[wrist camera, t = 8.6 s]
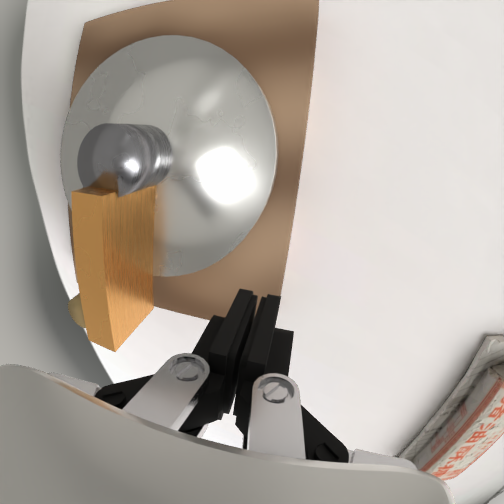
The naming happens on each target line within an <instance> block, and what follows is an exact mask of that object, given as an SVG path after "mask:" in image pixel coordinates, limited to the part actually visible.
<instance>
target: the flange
mask: <svg viewBox="0 0 504 504" xmlns="http://www.w3.org/2000/svg"><path fill="white" fill-rule="evenodd" d="M278 156H279V150H278V134H277V129H276V123H275V119H274V116H273V113H272V110H271V107H270V104H269V102H268V100H267V98H266V96H265V94H264V92H263V90H262V89H261V87H260V86H259V84H258V83H257V82H256V80H255V79H254V77H253V76H252V75H251V74H250V73H249V71H248V70H247V69H246V68H245V67H244V66H243V65H242V64H241V63H240V62H239V61H238V60H237V59H236V58H234V57H233V56H232V55H230V54H229V53H228V52H226V51H225V50H223V49H222V48H220V47H218V46H216V45H214V44H212V43H210V42H207V41H204V40H201V39H197V38H194V37H188V36H180V35H163V36H157V37H151V38H147V39H144V40H141V41H138V42H135V43H133V44H131V45H128V46H126V47H124V48H122V49H121V50H119V51H118V52H116V53H114V54H113V55H111V56H110V57H109V58H108V59H106V60H105V61H104V62H103V63H102V64H100V65H99V66H98V67H97V68H96V69H95V71H94V72H93V73H92V74H91V75H90V76H89V77H88V79H87V80H86V81H85V83H84V84H83V86H82V87H81V89H80V90H79V92H78V94H77V95H76V97H75V99H74V101H73V103H72V106H71V108H70V110H69V113H68V116H67V119H66V122H65V126H64V131H63V135H62V142H61V174H62V181H63V186H64V191H65V194H66V197H67V200H68V203H69V206H70V208H71V210H72V226H73V241H74V252H75V262H76V270H77V278H78V285H79V292H80V298H81V304H82V310H83V315H84V320H85V325H86V330H87V334H88V339H89V340H90V341H92V342H94V343H96V344H98V345H100V346H103V347H105V348H107V349H109V350H112V351H114V352H116V351H117V349H118V348H119V347H120V346H121V345H122V344H123V343H124V341H125V340H126V339H127V338H128V337H129V336H130V334H131V333H132V332H133V331H134V330H135V329H136V328H137V327H138V325H139V324H140V323H141V322H142V321H143V320H144V319H145V318H146V316H147V315H148V314H149V313H150V312H151V311H152V310H153V309H154V305H153V276H164V277H168V276H181V275H185V274H190V273H194V272H197V271H199V270H202V269H205V268H207V267H209V266H211V265H212V264H214V263H216V262H218V261H220V260H221V259H222V258H224V257H225V256H226V255H228V254H229V253H230V252H232V251H233V250H234V249H235V248H236V247H237V246H238V245H239V244H240V243H241V242H242V241H243V240H244V238H245V237H246V236H247V234H248V233H249V232H250V230H251V229H252V228H253V226H254V225H255V223H256V222H257V221H258V219H259V217H260V216H261V214H262V212H263V210H264V208H265V207H266V205H267V202H268V200H269V197H270V195H271V192H272V190H273V186H274V182H275V178H276V174H277V166H278Z"/></svg>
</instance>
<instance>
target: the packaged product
mask: <svg viewBox="0 0 504 504" xmlns="http://www.w3.org/2000/svg"><path fill="white" fill-rule="evenodd" d="M503 433H504V336H502V335H495V336H487V337H486V338H485V340H484V342H483V344H482V345H481V347H480V349H479V350H478V352H477V354H476V355H475V357H474V359H473V361H472V363H471V365H470V367H469V369H468V371H467V372H466V374H465V376H464V377H463V378H462V379H461V380H460V382H459V383H458V385H457V386H456V388H455V389H454V390H453V392H452V393H451V394H450V396H449V397H448V398H447V400H446V401H445V402H444V404H443V405H442V406H441V408H440V409H439V410H438V411H437V413H436V414H435V415H434V416H433V417H432V418H431V419H430V421H429V422H428V423H427V425H426V426H425V427H424V428H423V430H422V431H421V432H420V434H419V435H418V436H417V437H416V438H415V439H414V441H413V442H412V443H411V444H410V445H409V446H408V447H407V448H406V449H405V450H404V451H403V452H402V453H401V454H400V456H399V457H398V458H403V459H406V460H409V461H411V462H412V463H413V464H415V466H416V468H417V470H420V471H423V472H426V473H430V474H432V475H434V476H436V477H438V478H440V479H442V480H443V481H444V480H448V479H452V478H454V477H456V476H458V475H459V474H460V473H462V472H463V471H464V470H465V469H466V468H468V467H469V466H470V465H471V464H472V463H473V462H475V461H476V460H477V459H478V458H479V457H480V456H481V455H483V454H484V453H485V452H486V451H487V450H488V449H489V448H490V447H491V446H492V445H493V444H494V443H495V442H496V441H497V440H498V439H499V438H500V437H501V436H502V435H503Z"/></svg>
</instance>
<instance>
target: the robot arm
mask: <svg viewBox="0 0 504 504" xmlns="http://www.w3.org/2000/svg"><path fill="white" fill-rule="evenodd" d="M257 299H258V296H257V295H253V291H251V290H246V289H241V288H240V289H239V291H238V293H237V295H236V297H235V299H234V301H233V303H232V305H231V307H230V309H229V311H228V313H227V315H226V317H221V316H217V315H213V317H212V318H211V320H210V322H209V323H208V325H207V327H206V329H205V330H204V332H203V334H202V336H201V338H200V339H199V341H198V343H197V345H196V347H195V348H194V350H193V352H192V354H188V353H183V354H178V355H175V356H173V357H171V358H170V359H169V360H167V362H166V363H165V364H164V365H163V366H162V367H161V368H160V369H159V370H158V371H157V372H156V373H155V374H154V375H150V376H146V377H142V378H137V379H133V380H129V381H125V382H120V383H116V384H111V385H108V386H105V387H103V388H100V387H99V386H98V384H95V383H91V382H87V381H83V380H79V379H75V378H72V377H68V376H65V375H62V374H58V373H45V372H43V371H40V370H37V369H34V368H30V367H26V366H21V365H15V364H6V365H1V366H0V504H456V503H455V500H454V497H453V494H452V492H451V490H450V488H449V486H448V485H447V484H446V483H445V482H444V481H443V480H442V479H440V478H438V477H436V476H434V475H432V474H430V473H426V472H423V471H420V470H417V468H416V466H415V464H413V463H412V462H411V461H409V460H406V459H403V458H397V457H391V456H386V455H381V454H377V453H372V452H368V451H363V450H359V449H355V451H351V450H347V448H346V447H345V446H344V444H343V443H342V442H341V441H339V440H338V439H337V438H336V437H335V436H334V435H333V434H332V433H331V432H329V431H328V430H327V429H326V428H325V427H324V426H323V425H322V424H321V423H320V422H319V421H318V420H317V419H316V418H314V417H313V416H312V415H311V414H310V413H309V412H308V411H307V410H306V409H305V408H304V407H303V406H302V405H301V401H300V392H299V388H298V385H297V384H296V383H295V381H293V380H292V379H291V378H289V377H288V372H289V365H290V358H291V350H292V342H293V334H294V331H289V330H284V329H278V328H275V325H276V320H277V315H278V310H279V305H280V299H281V296H276V295H271V294H268V295H267V297H263V296H262V297H261V300H260V303H259V306H258V309H257V312H256V305H257ZM255 312H256V315H255ZM235 394H236V397H235ZM234 397H235V404H234V412H233V415H235V416H237V417H236V423H235V425H236V426H237V427H238V428H239V430H240V431H241V432H242V434H243V438H242V449H241V448H237V447H232V446H228V445H224V444H220V443H216V442H213V441H209V440H205V439H202V438H201V437H202V436H203V434H204V433H205V431H206V429H207V427H208V423H211V422H214V421H216V420H221V419H222V416H223V413H227V414H229V412H230V409H231V406H232V403H233V400H234Z"/></svg>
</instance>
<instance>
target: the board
mask: <svg viewBox="0 0 504 504" xmlns="http://www.w3.org/2000/svg"><path fill="white" fill-rule="evenodd" d="M318 12H319V0H171V1H165V2H159V3H154V4H149V5H145V6H140V7H136V8H132V9H128V10H124V11H121V12H117V13H114V14H110V15H107V16H104V17H100V18H97V19H94V20H91V21H89V22H86V23H85V24H84V28H83V32H82V36H81V41H80V45H79V50H78V55H77V61H76V66H75V72H74V79H73V85H72V93H71V102H70V108H71V106H72V103H73V101H74V99H75V97H76V95H77V94H78V92H79V90H80V89H81V87H82V86H83V84H84V83H85V81H86V80H87V79H88V77H89V76H90V75H91V74H92V73H93V72H94V71H95V69H96V68H97V67H98V66H99V65H100V64H102V63H103V62H104V61H105V60H106V59H108V58H109V57H110V56H111V55H113V54H114V53H116V52H118V51H119V50H121V49H122V48H124V47H126V46H128V45H131V44H133V43H135V42H138V41H141V40H144V39H147V38H151V37H157V36H163V35H180V36H188V37H194V38H197V39H201V40H204V41H207V42H210V43H212V44H214V45H216V46H218V47H220V48H222V49H223V50H225V51H226V52H228V53H229V54H230V55H232V56H233V57H234V58H236V59H237V60H238V61H239V62H240V63H241V64H242V65H243V66H244V67H245V68H246V69H247V70H248V71H249V73H250V74H251V75H252V76H253V77H254V79H255V80H256V82H257V83H258V84H259V86H260V87H261V89H262V90H263V92H264V94H265V96H266V98H267V100H268V102H269V104H270V107H271V110H272V113H273V116H274V119H275V123H276V129H277V134H278V150H279V156H278V166H277V174H276V178H275V182H274V186H273V190H272V192H271V195H270V197H269V200H268V202H267V205H266V207H265V208H264V210H263V212H262V214H261V216H260V217H259V219H258V221H257V222H256V223H255V225H254V226H253V228H252V229H251V230H250V232H249V233H248V234H247V236H246V237H245V238H244V240H243V241H242V242H241V243H240V244H239V245H238V246H237V247H236V248H235V249H234V250H233V251H232V252H230V253H229V254H228V255H226V256H225V257H224V258H222V259H221V260H220V261H218V262H216V263H214V264H212V265H211V266H209V267H207V268H205V269H202V270H199V271H197V272H194V273H190V274H185V275H181V276H168V277H164V276H153V305H154V306H156V307H159V308H163V309H167V310H171V311H174V312H178V313H182V314H186V315H190V316H194V317H198V318H203V319H207V320H211V318H212V317H213V315H217V316H221V317H226V315H227V313H228V311H229V309H230V307H231V305H232V303H233V301H234V299H235V297H236V295H237V293H238V291H239V289H240V288H241V289H246V290H251V291H253V295H257V296H258V299H257V305H256V312H257V309H258V306H259V303H260V300H261V297H262V296H263V297H267V295H268V294H271V295H276V296H280V295H281V290H282V284H283V279H284V273H285V267H286V261H287V256H288V250H289V244H290V238H291V232H292V225H293V219H294V213H295V206H296V200H297V193H298V186H299V180H300V173H301V166H302V158H303V151H304V144H305V136H306V128H307V120H308V112H309V104H310V95H311V86H312V77H313V68H314V58H315V48H316V37H317V25H318ZM68 213H69V225H70V236H71V245H72V253H73V261H74V267H75V274H76V280H77V283H78V278H77V270H76V262H75V252H74V241H73V226H72V210H71V208H70V206H69V203H68ZM68 310H69V312H70V315H71V316H72V318H73V319H74V321H75V322H76V323H77V324H78V325H80V326H81V327H83V328H86V325H85V320H84V315H83V310H82V304H81V298H80V293H79V294H78V295H77V296H75V297H74V298H73V299H71V300H70V301H69V303H68ZM256 312H255V315H256Z"/></svg>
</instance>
